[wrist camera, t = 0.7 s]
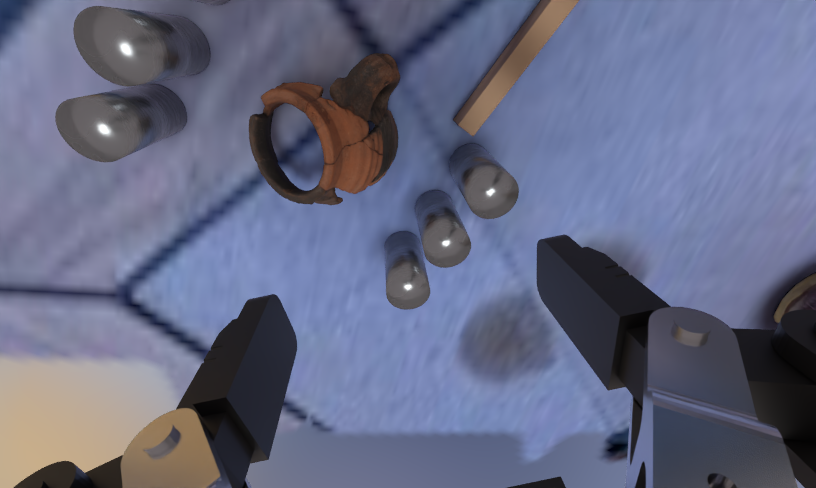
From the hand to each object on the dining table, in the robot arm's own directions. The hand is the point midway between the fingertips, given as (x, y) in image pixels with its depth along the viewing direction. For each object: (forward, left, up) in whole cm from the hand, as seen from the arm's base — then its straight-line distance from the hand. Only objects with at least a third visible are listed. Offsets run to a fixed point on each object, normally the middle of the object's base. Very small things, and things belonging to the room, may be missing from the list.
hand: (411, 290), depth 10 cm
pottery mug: (+1, -4, -20) cm, 20 cm away
